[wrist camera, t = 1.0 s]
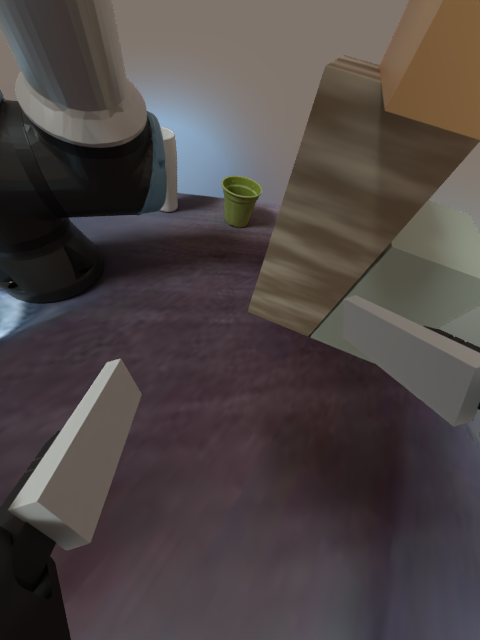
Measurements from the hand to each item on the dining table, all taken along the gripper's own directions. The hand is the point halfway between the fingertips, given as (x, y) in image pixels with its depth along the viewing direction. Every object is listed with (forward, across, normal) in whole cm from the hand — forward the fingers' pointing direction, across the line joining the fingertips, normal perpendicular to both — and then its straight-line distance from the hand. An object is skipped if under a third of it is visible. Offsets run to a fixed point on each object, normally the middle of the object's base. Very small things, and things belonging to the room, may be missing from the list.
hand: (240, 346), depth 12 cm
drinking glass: (+53, -8, +12) cm, 55 cm away
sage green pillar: (+24, +23, -16) cm, 37 cm away
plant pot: (+50, +9, +5) cm, 51 cm away
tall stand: (+29, +13, -10) cm, 33 cm away
